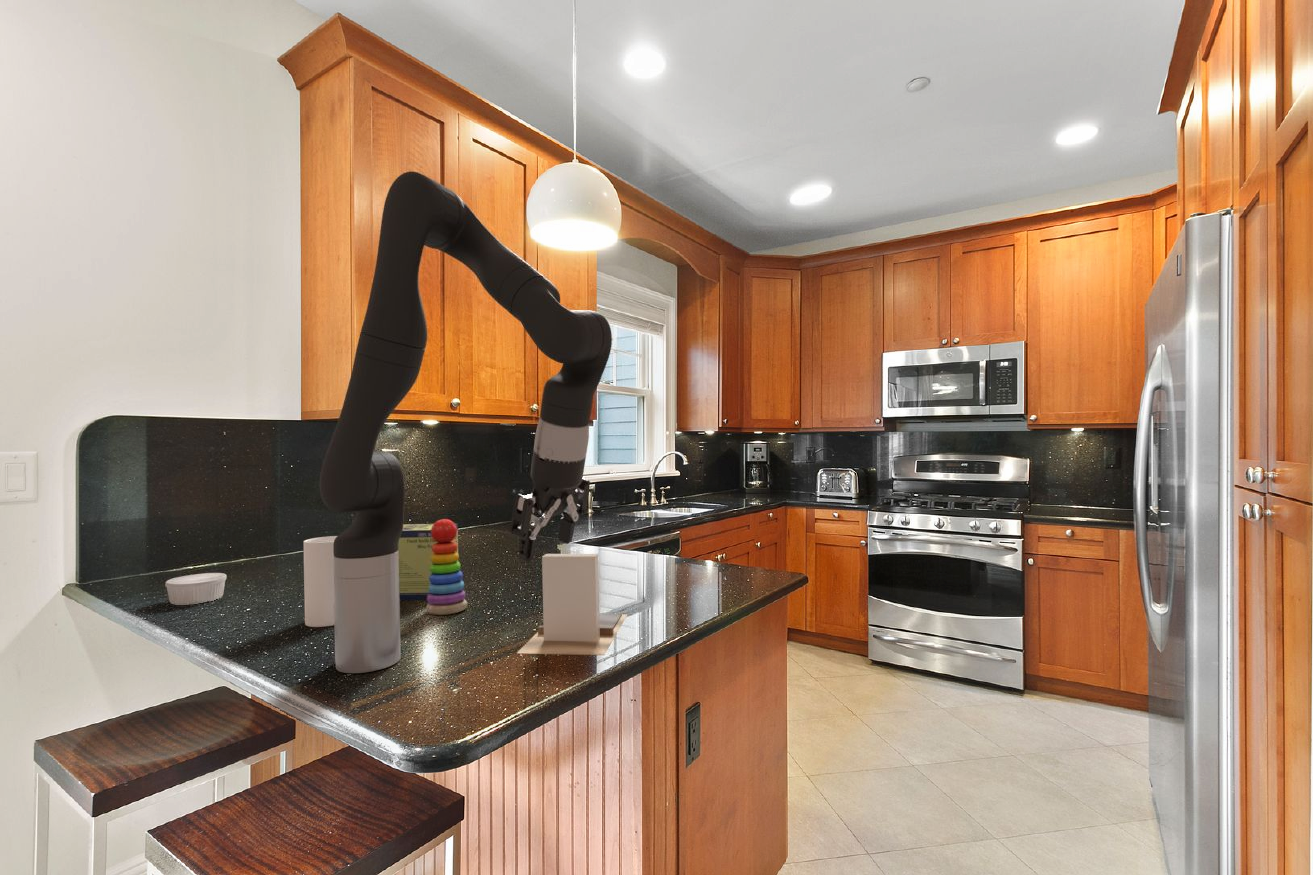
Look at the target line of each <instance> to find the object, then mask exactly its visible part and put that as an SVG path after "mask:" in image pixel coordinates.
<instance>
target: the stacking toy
mask: <svg viewBox="0 0 1313 875" xmlns="http://www.w3.org/2000/svg"><path fill="white" fill-rule="evenodd" d="M454 523H455V522H454V521H452V520H451V519H448V518H443V519H442V518H441V519H439V520H437V521H435V522H434V523H433V524H434V525H433V526H432V529H431V535H432V538H433V539H434V540H435V541H436V542H438V543H435V544H434V545H433V546H432V551H433V552H434V553H435V554H433V555H432V556H431V558H430V560H431V562H432V563H433V564H431V566H430V571H431V572H432V574H431V575H430V576H429V580H430V582H431V584H430V585H429V587H428V590H429V592H430V593H429V594H428V596H427V599H426V601H427V605H426V608H425V609H426V611H427V613H428V614H430V615H435V616H444V615H452V614H456V613H459V612H462V611H464V610H465V609H466V608H467V607H468V601H467V600H466V599H465V598H466V592H465V590H464V588H465V583H464V581H463V580H462V579H463V577H464V574H463V572H462V571H461V570H460V569H461V562H460V561H459V558H460V555H459V552H458V553H457V552H455V551H456V550H457V548H458V549H459V545H458V546H457V543H455V542H450V541H453V539H454V538H455V537H456V534H457V527H456V525H455V524H454ZM457 560H458V561H457Z"/></svg>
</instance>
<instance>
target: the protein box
mask: <svg viewBox="0 0 1313 875" xmlns="http://www.w3.org/2000/svg"><path fill="white" fill-rule="evenodd" d="M454 524H455V525H456V527H457V534H456V537H455V538H454V539H453V541H450V542H455V543H457V546H458V548H457V550H456V551H455V552H457V553H458V554H459V529H458V528H459V527H458V525H459V524H458V522H457V523H456V522H454ZM433 525H434V523H426V524H425V523H419V524H417V523H413V524H412V523H411V524H410V523H409V524H404V523H403V530H402V534H401V536H400V539H399V543H398V557H399V598H400V601H403V600H404V601H405V600H406V601H407V600H408V601H410V600H427V596H428V594H429V593H430V592H429V590H428V587H429V585H430V584H431V582H430V580H429V576H430V575H431V574H432V572H431V571H430V566H431V564H433V563H432V562H431V560H430V558H431V556H432V555H433V554H435V553H434V552H433V551H432V546H433V545H434V544H435V543H438V542H436V541H435V540H434V539H433V538H432V535H431V529H432V526H433ZM457 561H458V562H459V559H458V560H457Z"/></svg>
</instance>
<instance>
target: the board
mask: <svg viewBox="0 0 1313 875" xmlns="http://www.w3.org/2000/svg"><path fill="white" fill-rule="evenodd" d="M627 616H628V613H626V614H625V613H624V614H623V613H617V612H616V613H615V612H614V613H613V612H612V613H610V612H607V613H604V612H599V617H600V638H599V639H598V641H544V625H539V626H537V632H536V633H535V634H534V635H533V636H532V637H531V638H530V639H529V640H528V641H527V642H526V643H525V644H524V645H523V646H522V647H521V648H520V649H519V650H518V651H517V652H516V654H521V655H522V654H525V655H527V654H529V655H530V654H531V655H532V654H533V655H537V654H538V655H573V656H575V655H580V656H583V655H584V656H605V655H606V653H607V651H608V649H609V647H610V646H611V644H612V643H613V641H614V640H615V638H616V635H617V633H618V632H619V630H620V629H621V627H622V625H623V624H624V622H625V619H626V618H627Z"/></svg>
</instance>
